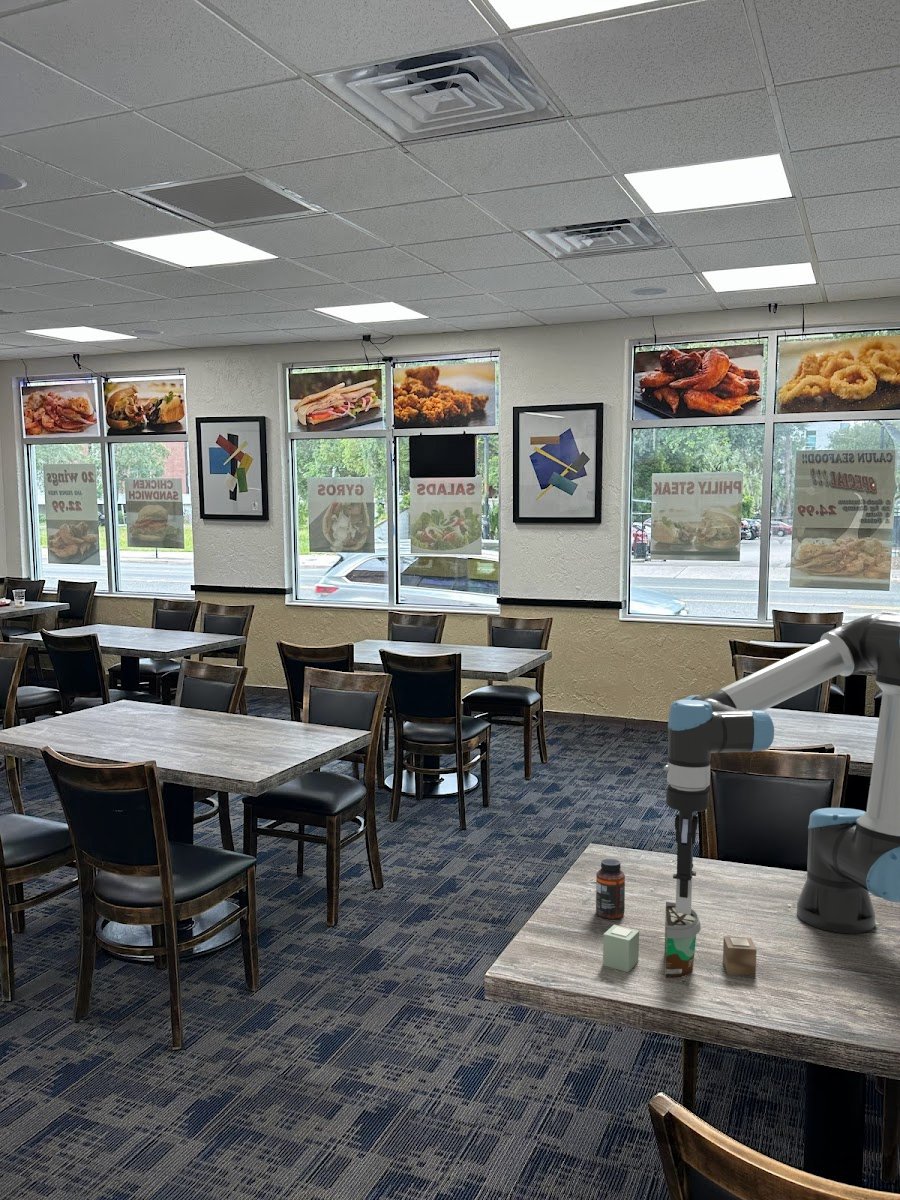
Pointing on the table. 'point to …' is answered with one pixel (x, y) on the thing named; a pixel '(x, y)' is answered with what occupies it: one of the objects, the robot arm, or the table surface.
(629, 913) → the table surface
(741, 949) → the walnut block
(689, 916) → the food container
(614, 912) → the supplement bottle
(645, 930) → the table surface
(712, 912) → the table surface
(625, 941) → the sage block
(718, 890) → the table surface
